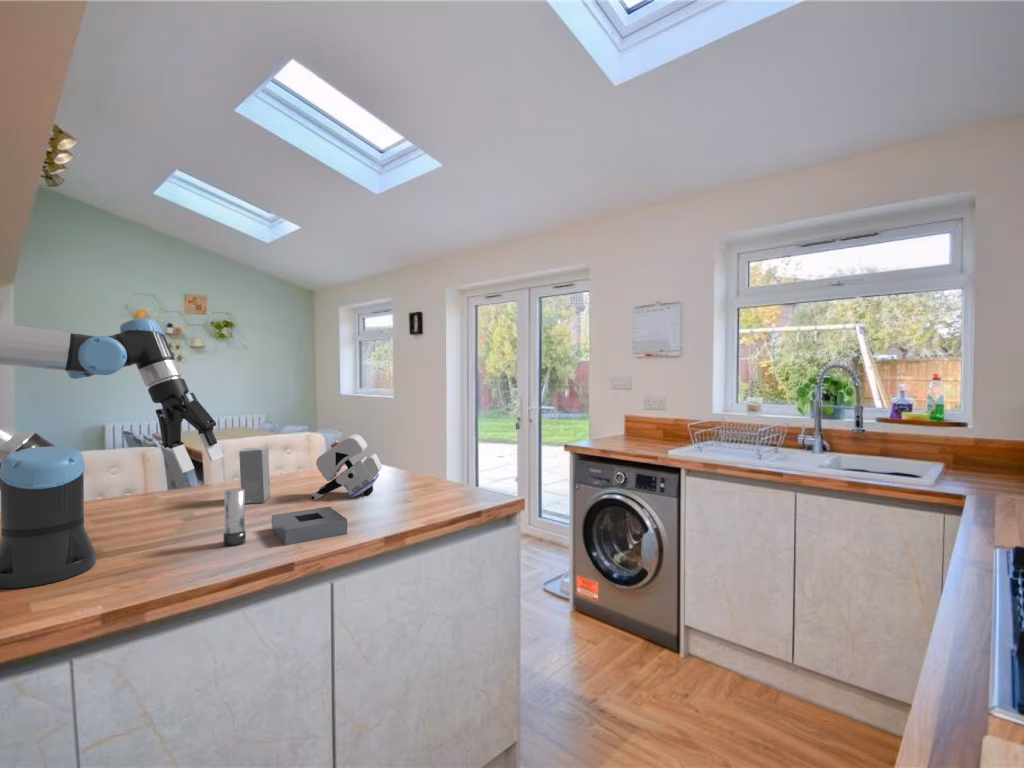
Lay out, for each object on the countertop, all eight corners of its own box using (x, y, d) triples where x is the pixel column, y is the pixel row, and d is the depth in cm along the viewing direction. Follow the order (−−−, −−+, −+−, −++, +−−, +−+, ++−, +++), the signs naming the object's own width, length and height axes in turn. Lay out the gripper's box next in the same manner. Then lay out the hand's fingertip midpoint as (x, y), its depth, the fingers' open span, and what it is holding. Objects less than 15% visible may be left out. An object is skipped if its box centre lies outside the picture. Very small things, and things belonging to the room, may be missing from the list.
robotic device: (338, 514, 164) (301, 464, 162) (393, 476, 166) (357, 426, 164) (330, 523, 154) (291, 470, 152) (389, 483, 155) (351, 430, 154)
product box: (264, 503, 148) (264, 449, 148) (237, 504, 146) (238, 450, 146) (271, 496, 156) (271, 445, 156) (246, 497, 155) (246, 446, 154)
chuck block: (285, 545, 113) (285, 529, 113) (271, 529, 125) (271, 515, 125) (347, 533, 122) (347, 519, 122) (329, 519, 133) (329, 506, 133)
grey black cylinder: (225, 547, 111) (224, 493, 111) (222, 542, 115) (222, 489, 114) (247, 543, 114) (247, 491, 114) (243, 538, 117) (243, 487, 117)
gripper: (207, 362, 115) (245, 447, 117) (157, 393, 128) (192, 469, 129) (174, 370, 109) (214, 459, 110) (124, 401, 121) (161, 481, 123)
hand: (202, 465), depth 120 cm, fingers open, 13 cm apart
